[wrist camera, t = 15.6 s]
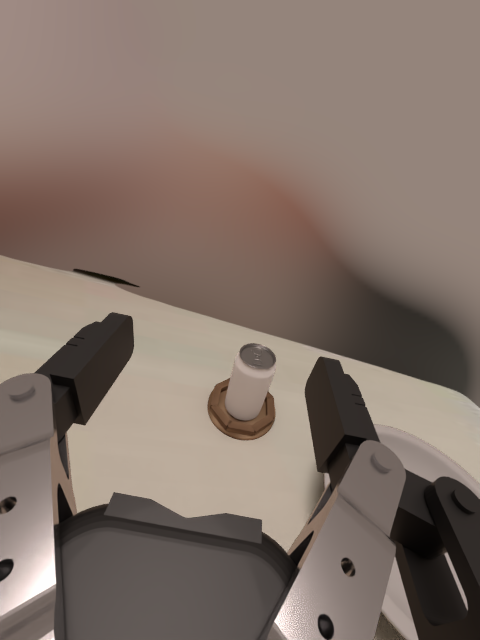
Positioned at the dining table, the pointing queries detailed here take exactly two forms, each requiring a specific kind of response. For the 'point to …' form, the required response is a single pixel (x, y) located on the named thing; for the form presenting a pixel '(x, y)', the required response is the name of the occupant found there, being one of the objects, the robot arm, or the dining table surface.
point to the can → (250, 381)
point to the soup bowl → (430, 467)
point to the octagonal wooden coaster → (236, 426)
